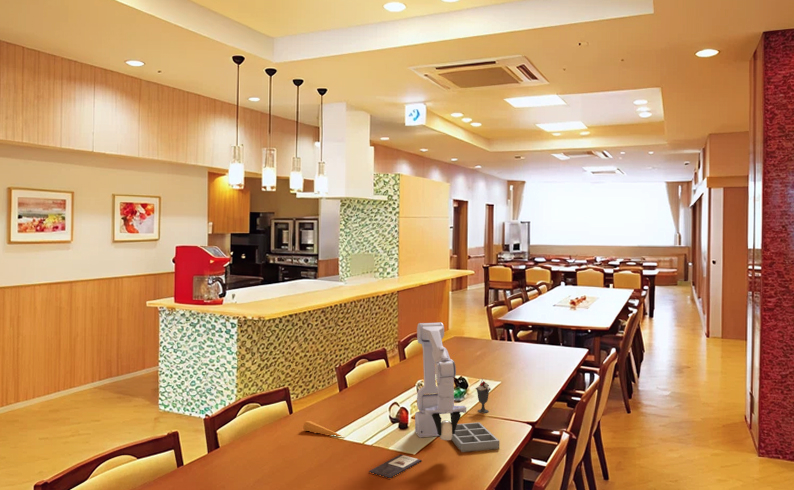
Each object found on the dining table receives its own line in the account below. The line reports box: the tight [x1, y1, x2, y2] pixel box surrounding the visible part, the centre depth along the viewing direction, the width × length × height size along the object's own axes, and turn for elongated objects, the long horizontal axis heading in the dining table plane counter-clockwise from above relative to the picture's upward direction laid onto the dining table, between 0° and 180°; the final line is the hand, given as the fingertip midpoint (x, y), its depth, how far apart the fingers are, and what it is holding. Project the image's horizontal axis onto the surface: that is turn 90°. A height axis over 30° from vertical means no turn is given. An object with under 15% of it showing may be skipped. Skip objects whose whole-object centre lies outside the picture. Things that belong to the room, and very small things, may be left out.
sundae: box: [475, 379, 492, 414], centre depth 258 cm, size 7×7×15 cm
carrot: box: [302, 420, 342, 436], centre depth 231 cm, size 20×4×4 cm, turn 61°
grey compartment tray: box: [450, 421, 500, 453], centre depth 222 cm, size 14×21×3 cm
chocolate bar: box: [368, 453, 422, 479], centre depth 198 cm, size 9×1×18 cm
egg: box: [439, 419, 452, 441], centre depth 206 cm, size 4×4×6 cm
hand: (446, 433), depth 206 cm, fingers closed on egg, 4 cm apart
